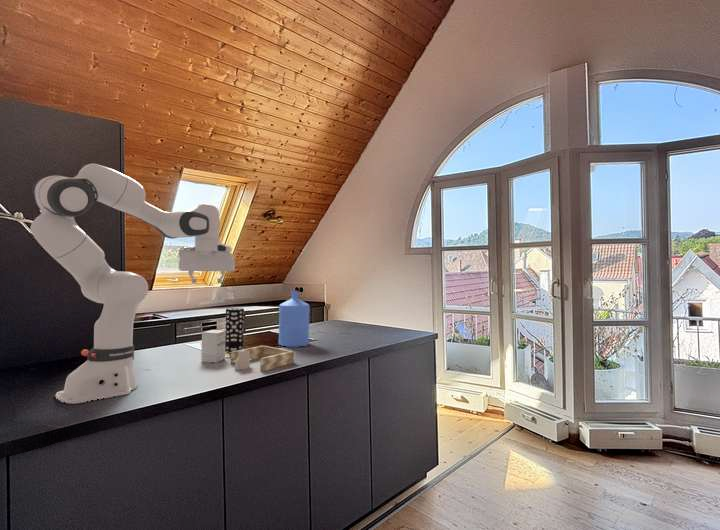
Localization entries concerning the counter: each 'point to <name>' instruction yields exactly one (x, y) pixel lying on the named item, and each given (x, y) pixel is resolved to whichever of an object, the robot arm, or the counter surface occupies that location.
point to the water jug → (294, 322)
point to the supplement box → (213, 346)
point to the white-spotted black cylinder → (234, 329)
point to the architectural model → (242, 360)
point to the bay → (268, 356)
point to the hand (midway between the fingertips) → (207, 283)
